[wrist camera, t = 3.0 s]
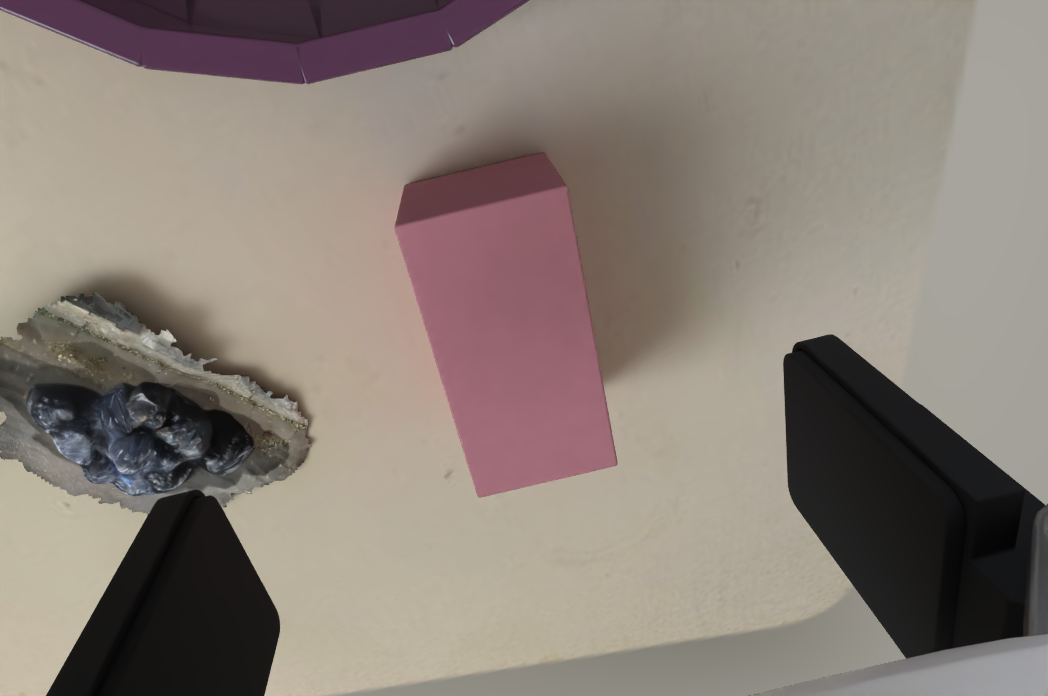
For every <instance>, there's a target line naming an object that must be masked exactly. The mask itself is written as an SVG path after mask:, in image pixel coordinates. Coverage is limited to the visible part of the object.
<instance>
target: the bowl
mask: <svg viewBox="0 0 1048 696" xmlns="http://www.w3.org/2000/svg"><path fill="white" fill-rule="evenodd" d="M528 1H529V0H0V10H1V11H3V12H6V13H8V14H11V15H13V16H16V17H18V18H21V19H23V20H25V21H28V22H30V23H33V24H35V25H38V26H40V27H43V28H45V29H47V30H50V31H52V32H55V33H57V34H60V35H62V36H65V37H67V38H69V39H72V40H74V41H77V42H79V43H82V44H84V45H87V46H89V47H91V48H94V49H96V50H99V51H101V52H104V53H106V54H109V55H111V56H113V57H116V58H118V59H121V60H123V61H126V62H128V63H131V64H133V65H135V66H138V67H144V68H146V69H151V70H161V71H171V72H181V73H191V74H201V75H211V76H221V77H232V78H242V79H252V80H262V81H272V82H282V83H292V84H304V83H306V84H311V83H315V82H319V81H324V80H328V79H332V78H336V77H340V76H345V75H349V74H353V73H357V72H362V71H366V70H370V69H374V68H378V67H383V66H387V65H391V64H395V63H399V62H404V61H408V60H412V59H416V58H420V57H425V56H429V55H433V54H437V53H442V52H446V51H450V50H452V49H453V47H458V46H460V45H462V44H463V43H465V42H466V41H468V40H469V39H471V38H472V37H474V36H475V35H477V34H479V33H480V32H482V31H483V30H485V29H486V28H488V27H489V26H491V25H492V24H494V23H496V22H497V21H499V20H500V19H502V18H503V17H505V16H506V15H508V14H509V13H511V12H513V11H514V10H516V9H517V8H519V7H520V6H522V5H523V4H525V3H526V2H528Z"/></svg>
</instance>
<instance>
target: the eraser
mask: <svg viewBox="0 0 1048 696" xmlns="http://www.w3.org/2000/svg"><path fill="white" fill-rule="evenodd" d="M395 231H396V234H397V237H398V240H399V244H400V247H401V250H402V253H403V257H404V260H405V263H406V266H407V270H408V273H409V276H410V279H411V282H412V286H413V289H414V292H415V295H416V299H417V302H418V305H419V308H420V312H421V315H422V318H423V321H424V325H425V328H426V331H427V334H428V337H429V341H430V344H431V347H432V350H433V354H434V357H435V360H436V363H437V367H438V370H439V373H440V376H441V380H442V383H443V386H444V389H445V392H446V396H447V399H448V402H449V405H450V409H451V412H452V415H453V418H454V422H455V425H456V428H457V431H458V435H459V438H460V441H461V444H462V447H463V451H464V454H465V457H466V460H467V464H468V467H469V470H470V473H471V477H472V480H473V483H474V486H475V490H476V493H477V496H478V497H485V496H489V495H493V494H497V493H502V492H506V491H510V490H514V489H519V488H523V487H527V486H532V485H536V484H540V483H544V482H549V481H553V480H557V479H561V478H566V477H570V476H574V475H579V474H583V473H587V472H591V471H596V470H600V469H604V468H609V467H613V466H616V465H617V457H616V452H615V446H614V441H613V435H612V430H611V424H610V419H609V413H608V408H607V402H606V397H605V391H604V386H603V380H602V374H601V369H600V363H599V358H598V352H597V347H596V341H595V336H594V330H593V325H592V319H591V314H590V308H589V303H588V297H587V292H586V286H585V281H584V275H583V270H582V264H581V259H580V253H579V248H578V242H577V237H576V231H575V226H574V220H573V215H572V209H571V204H570V198H569V193H568V187H567V186H566V184H565V183H564V181H563V180H562V178H561V177H560V175H559V174H558V172H557V171H556V169H555V168H554V166H553V165H552V163H551V162H550V160H549V159H548V157H547V156H546V154H545V153H544V152H542V153H538V154H533V155H529V156H525V157H521V158H517V159H512V160H508V161H504V162H500V163H495V164H491V165H487V166H483V167H478V168H474V169H470V170H466V171H462V172H457V173H453V174H449V175H445V176H440V177H436V178H432V179H428V180H424V181H419V182H415V183H411V184H407V185H405V186H404V190H403V194H402V198H401V203H400V207H399V211H398V215H397V219H396V224H395Z"/></svg>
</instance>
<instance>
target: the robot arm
mask: <svg viewBox="0 0 1048 696" xmlns="http://www.w3.org/2000/svg"><path fill="white" fill-rule="evenodd" d="M783 366H784V393H785V420H786V446H787V473H788V488H789V492H790V495H791V498H792V500H793V502H794V504H795V506H796V507H797V509H798V510H799V512H800V513H801V514H802V516H803V517H804V518H805V520H806V521H807V523H808V524H809V525H810V527H811V528H812V529H813V531H814V532H815V534H816V535H817V536H818V538H819V539H820V540H821V542H822V543H823V545H824V546H825V547H826V549H827V550H828V551H829V553H830V554H831V556H832V557H833V558H834V560H835V561H836V562H837V564H838V565H839V567H840V568H841V569H842V571H843V572H844V573H845V575H846V576H847V578H848V579H849V580H850V582H851V583H852V584H853V586H854V587H855V589H856V590H857V591H858V593H859V594H860V595H861V597H862V598H863V600H864V601H865V602H866V604H867V605H868V606H869V608H870V609H871V611H873V613H874V615H875V616H876V617H877V619H878V620H879V622H880V623H881V624H882V626H883V627H884V628H885V630H886V631H887V632H888V634H889V635H890V637H891V638H892V639H893V641H894V642H895V644H896V645H897V646H898V648H899V649H900V650H901V652H902V653H903V655H904V656H905V657H906V659H903V660H898V661H894V662H889V663H885V664H881V665H876V666H872V667H867V668H863V669H858V670H854V671H849V672H845V673H840V674H836V675H832V676H828V677H823V678H819V679H815V680H811V681H807V682H803V683H799V684H795V685H791V686H786V687H782V688H778V689H774V690H770V691H766V692H762V693H758V694H754V695H749V696H1048V504H1047V505H1044V504H1043V503H1042V502H1041V501H1040V500H1038V499H1037V498H1036V497H1035V496H1034V495H1032V494H1031V493H1030V492H1029V491H1027V490H1026V489H1025V488H1024V487H1022V486H1021V485H1020V484H1019V483H1017V482H1016V481H1015V480H1013V478H1011V477H1010V476H1009V475H1007V474H1006V473H1005V472H1004V471H1003V470H1001V469H1000V468H999V467H998V466H997V465H995V464H994V463H993V462H992V461H990V460H989V459H988V458H987V457H985V456H984V455H983V454H982V453H981V452H979V451H978V450H977V449H976V448H974V447H973V446H972V445H971V444H969V443H968V442H967V441H966V440H964V439H963V438H962V437H961V436H960V435H958V434H957V433H956V432H955V431H953V430H952V429H951V428H950V427H948V426H947V425H946V424H945V423H943V422H942V421H941V420H940V419H939V418H937V417H936V416H935V415H934V414H932V413H931V412H930V411H929V410H928V409H926V408H925V407H924V406H923V405H921V404H919V403H918V402H916V401H915V400H914V399H913V398H911V397H910V396H909V395H908V394H907V393H905V392H904V391H903V390H902V389H900V388H899V387H898V386H897V385H895V384H894V383H893V382H892V381H891V380H889V379H888V378H887V377H886V376H884V375H883V374H882V373H881V372H879V371H878V370H877V369H876V368H875V367H873V366H872V365H871V364H870V363H868V362H867V361H866V360H865V359H863V358H862V357H861V356H860V355H859V354H857V353H856V352H855V351H854V350H852V349H851V348H850V347H849V346H848V345H846V344H845V343H844V342H843V341H841V340H840V339H839V338H838V337H836V336H834V335H825V336H821V337H817V338H813V339H809V340H805V341H801V342H797V343H796V344H795V345H794V347H793V351H792V353H789V354H786V355H785V357H784V363H783ZM279 633H280V620H279V615H278V612H277V610H276V608H275V606H274V604H273V602H272V600H271V598H270V596H269V595H268V593H267V591H266V589H265V587H264V585H263V583H262V582H261V580H260V578H259V576H258V574H257V572H256V570H255V569H254V567H253V565H252V563H251V561H250V559H249V557H248V556H247V554H246V552H245V550H244V548H243V546H242V544H241V543H240V541H239V539H238V537H237V535H236V533H235V531H234V530H233V528H232V526H231V524H230V522H229V520H228V518H227V517H226V515H225V513H224V511H223V509H222V507H221V505H220V504H219V502H218V500H217V499H216V498H215V497H214V496H211V495H209V496H205V494H204V493H203V492H201V491H200V490H196V489H195V490H191V491H187V492H183V493H179V494H175V495H171V496H166V497H163V498H160V499H158V500H157V501H156V503H155V504H154V506H153V508H152V509H151V511H150V513H149V515H148V516H147V518H146V520H145V522H144V523H143V525H142V527H141V529H140V531H139V532H138V534H137V536H136V538H135V539H134V541H133V543H132V545H131V546H130V548H129V550H128V552H127V553H126V555H125V557H124V559H123V561H122V562H121V564H120V566H119V568H118V569H117V571H116V573H115V575H114V576H113V578H112V580H111V582H110V584H109V585H108V587H107V589H106V591H105V592H104V594H103V596H102V598H101V599H100V601H99V603H98V605H97V607H96V608H95V610H94V612H93V614H92V615H91V617H90V619H89V621H88V622H87V624H86V626H85V628H84V630H83V631H82V633H81V635H80V637H79V638H78V640H77V642H76V644H75V645H74V647H73V649H72V651H71V652H70V654H69V656H68V658H67V660H66V661H65V663H64V665H63V667H62V668H61V670H60V672H59V674H58V675H57V677H56V679H55V681H54V683H53V684H52V686H51V688H50V690H49V691H48V693H47V695H46V696H264V694H265V690H266V686H267V682H268V678H269V674H270V670H271V666H272V662H273V658H274V654H275V650H276V646H277V642H278V638H279Z"/></svg>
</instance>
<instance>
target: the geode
mask: <svg viewBox="0 0 1048 696" xmlns="http://www.w3.org/2000/svg"><path fill="white" fill-rule="evenodd" d="M92 296H93V297H84V294H80V295H79V296H78V297H75V296H66V298H65V297H61V301H60V300H58V304H55V303H54V302H53V303H52V305H51V306H48V305H47V306H46V307H45V308H43V310H41V309H40V308H38V311H35V312H36V314H35V313H34V315H35V316H34V317H33V319H32V318H28V322H26V323H19V324H18V326H17V332H18V335H22V336H23V338H22V339H21V340H20V341H16V340H12V338H5V337H1V340H0V411H4V412H5V414H6V416H7V420H6V421H5V422H3V423H2V424H1V425H0V451H1V453H0V456H1V459H4V460H5V459H18V461H19V462H23V465H24V468H25V469H26V470H27V471H28V472H32V471H33V474H37V476H41V479H45V482H49V484H53V487H60V489H64V490H67V493H68V494H70V495H73V496H78V495H81V494H89V496H93V498H99V497H100V498H101V500H100V501H99V504H102V503H109V504H114V503H117V502H120V506H121V508H128V509H129V510H131V509H132V512H143V513H147V514H149V513H150V511H151V509H152V508H153V506H154V504H155V503H156V501H157V500H158V499H160V498H163V497H166V496H171V495H175V494H179V493H183V492H187V491H191V490H195V489H196V490H200V491H201V492H203V493H204V494H205V496H209V495H211V496H214V497H215V498H216V499H217V500H218V502H219V504H220V505H221V507H227V506H226V502H229V499H233V498H232V496H231V493H233V492H234V493H236V494H241V493H243V492H245V493H246V494H252V491H251V490H252V489H253V488H254V487H263V485H269V483H272V482H273V481H281V480H285V479H286V478H287V477H288V476H290V475H292V473H295V471H294V470H297V467H299V466H300V465H301V463H303V462H304V458H306V455H307V454H306V448H309V446H311V447H312V444H309V438H306V433H305V431H306V430H307V429H308V421H307V419H305V417H301V412H297V402H292V401H290V400H289V399H288V396H287V395H286V396H285V397H284V398H283V399H278V398H275V399H272V398H270V396H271V395H272V394H273V393H272V392H270V391H269V392H267V393H264V391H263V390H262V389H260V387H261V386H259V385H257V384H256V381H253V382H249V376H247V377H242V376H240V375H219V373H218V374H215V373H211V371H204V370H203V366H202V365H203V364H206V363H207V362H212V361H214V360H217V358H213V359H211V360H205V359H202V358H200V359H201V360H199V361H198V362H197V361H194V359H190V356H191V355H192V354H190V353H189V354H188V355H187V356H183V353H182V351H181V350H179V349H178V348H176V347H171V343H173V342H177V341H176V339H175V338H174V337H173V335H172V334H171V333H170V332H169V331H168V330H167V329H166V331H163V330H162V329H161V333H160V334H159V335H155V333H154V332H151V331H150V329H146V326H145V324H141V323H138V317H137V316H135V315H131V312H126V310H125V309H126V306H125V305H124V304H123V303H121V302H119V301H116V302H110V303H109V302H106V299H103V298H102V295H98V292H95V294H93V293H92ZM115 487H117V488H115ZM233 500H234V499H233Z"/></svg>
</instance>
